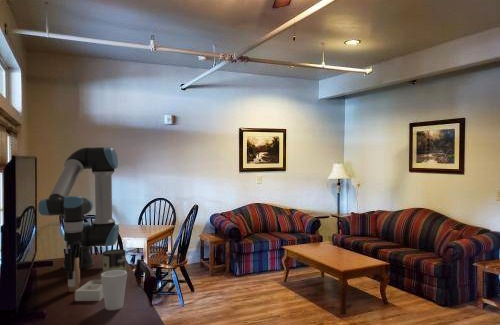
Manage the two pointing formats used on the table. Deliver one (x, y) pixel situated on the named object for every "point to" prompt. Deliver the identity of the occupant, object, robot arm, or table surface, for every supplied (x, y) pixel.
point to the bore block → (90, 291)
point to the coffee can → (114, 260)
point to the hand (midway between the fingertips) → (74, 284)
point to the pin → (76, 269)
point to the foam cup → (114, 288)
